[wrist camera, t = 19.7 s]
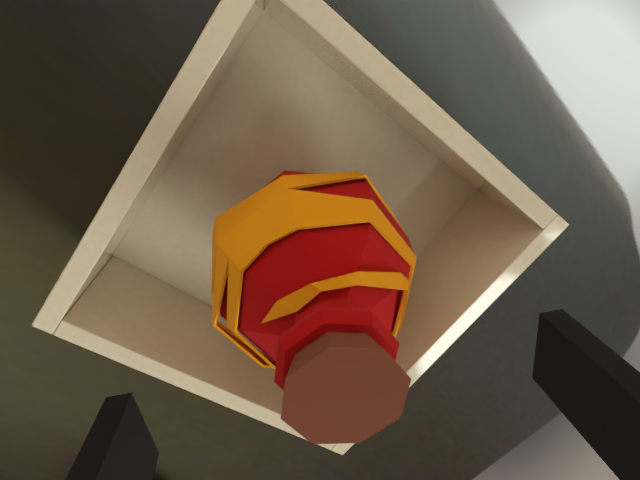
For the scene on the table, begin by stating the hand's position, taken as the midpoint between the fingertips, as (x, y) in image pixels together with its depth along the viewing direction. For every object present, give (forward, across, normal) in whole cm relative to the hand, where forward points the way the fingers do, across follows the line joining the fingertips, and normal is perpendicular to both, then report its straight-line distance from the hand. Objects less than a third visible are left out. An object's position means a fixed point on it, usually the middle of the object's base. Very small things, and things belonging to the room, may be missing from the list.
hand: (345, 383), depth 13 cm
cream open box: (+15, 0, 0) cm, 15 cm away
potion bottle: (+14, 0, 0) cm, 14 cm away
